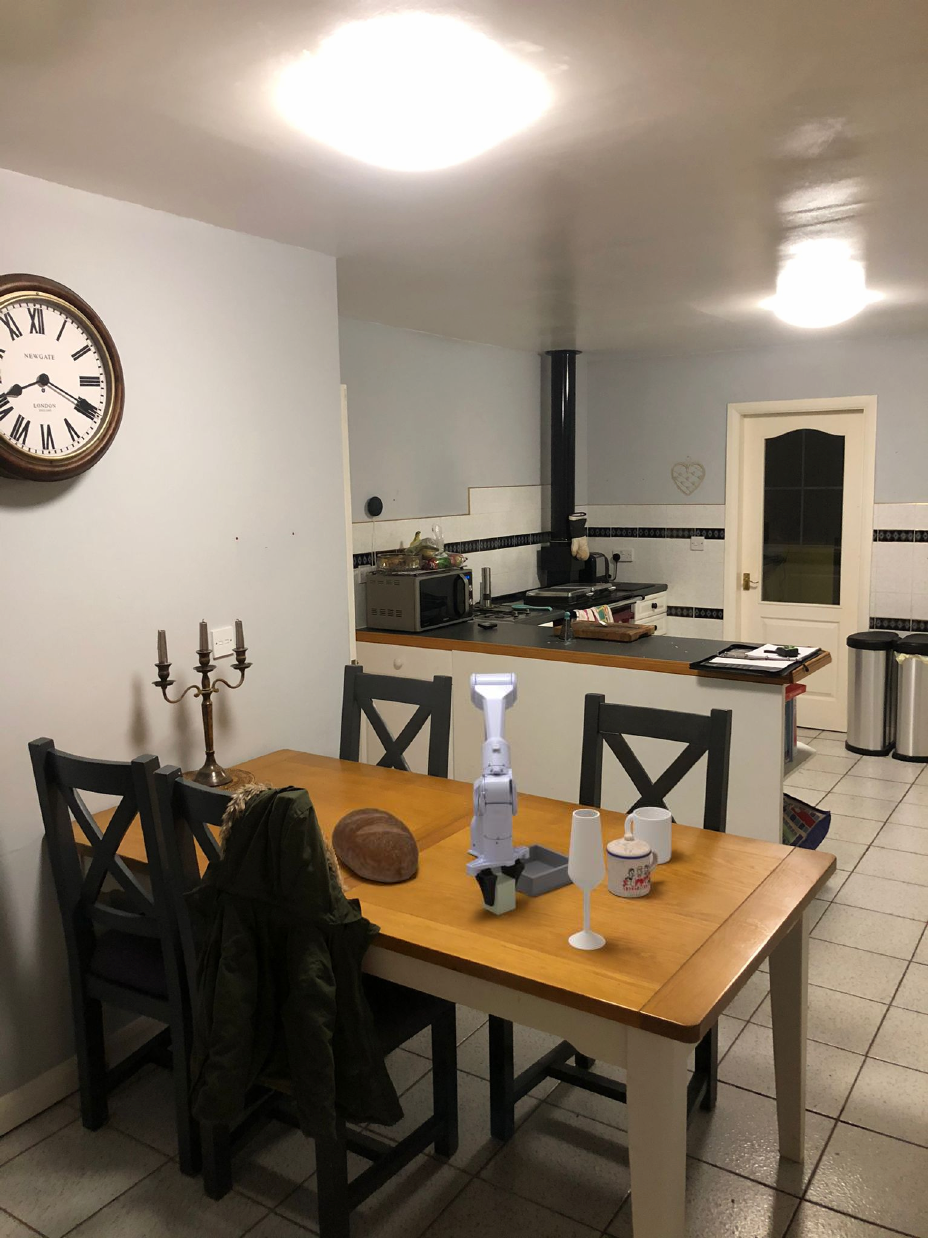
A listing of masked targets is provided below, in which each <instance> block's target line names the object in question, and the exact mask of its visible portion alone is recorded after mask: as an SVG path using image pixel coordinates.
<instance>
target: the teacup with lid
mask: <svg viewBox="0 0 928 1238" xmlns="http://www.w3.org/2000/svg"><path fill="white" fill-rule="evenodd" d="M605 851H606V852H607V855H606V856H607V862H606V863H607V866H606V868H607V870H606V871H607V874H606V875H607V881H606V882H607V885H606V886H607V889H608V891H609V892H610V893H612V894H613V895H616V896H618V897H621V898H632V899H633V898H639V897H644V896H646V895H647V894H649V892H650V891H651V874H652V873H653V872H654V871H655V870H656V868H657V865H658V864H657V863H658V854H657V852H656V851H654V850H652V849H651V847H650V846H649V845H648V844H647V843H646V842H643V841H640V840H638V839H636V838H634V836H633V833H632V834H630V833H627V834H626V833H625V834H624V835H623V837H622V838H619V839H615V840H612V841H610V842H609V843H608V844H607V845H606V848H605ZM650 854H653V861H652V864H650Z"/></svg>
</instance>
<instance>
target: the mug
mask: <svg viewBox="0 0 928 1238" xmlns="http://www.w3.org/2000/svg"><path fill="white" fill-rule="evenodd" d="M631 826H632V830H631ZM624 832H625V834H627V833H630V834H633V836H634V838H636V839H638V840H640V841H643V842H646V843H647V844H648V845H649V846H650V847H651V849H652V850H654V851H656V852H657V854H658V863H657V865H661V864H665V863H667V862H669V861H670V859H671V858H672V813H671V811H669V810H668V809H666V808H661V807H656V806H654V807H652V806H648V807H647V806H646V807H645V806H644V807H639V808H637V809H634V810H633V812H632V813H630V814H628V816H627V817H626V819H625V821H624ZM652 861H653V854H650V865H651V864H652Z"/></svg>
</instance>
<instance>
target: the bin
mask: <svg viewBox="0 0 928 1238" xmlns="http://www.w3.org/2000/svg"><path fill="white" fill-rule="evenodd" d="M526 847H527V848H529V858H526V859H525V858H521V859H520V862H523V863H524V864H525V869H524V870H523V872H522V873H521V875H520V877H519V880H518V883H517V886H516V890H517V892H521V893H523V894H524V895H527V896H528V897H531V898H536V897H538V896H541V895H543V894H545V893H549V892H551V891H553V890H556V889H559V888H561V887H564V886H567V885H569V884H572V883H573V882H572V880H571V879H570V877H569V875H568V863H569V855H566V854H564V853H562V852H559V851H557V850H554V849H552V848H549V847H546V846H544V845H542V844H539V843H537V842H536V843H533V844H531V845H527V846H526ZM491 871H493V874H497V873H502V871H501V867H500V866H498V867H495V868H492V869H491ZM573 884H574V883H573ZM516 890H515V891H516Z"/></svg>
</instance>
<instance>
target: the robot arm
mask: <svg viewBox="0 0 928 1238" xmlns="http://www.w3.org/2000/svg"><path fill="white" fill-rule="evenodd" d="M469 677H470V701H471V703H472V705H474V707H475V708H477V709H478V710H481V711H483V717H484V719H483V721H484V722H483V723H484V743H483V744H482V745H481V751H480V752H481V776H480V777H479V778H477V779H475V781H474V783H473V792H472V793H473V794H472V799H473V800H472V801H473V803H472V804H473V815H474V816H473V818H472V819H471V822H470V826H469V827H470V828H469V829H470V849H468V850H467V853H468V854H471V855H473V856H474V857H477V858H476V859H474V860H473V861H471V862H469V863H466V866H465V867H466V868H465V869H466V870H465V871H466V873H465V874H466V875H468V876H470V877H472V878H473V877H474V878H475V880H476V882H477V884H478V885H479V888H480V891H481V894H482V899H483V898H484V902H485V904H486V905H488V906H490V907H492V906H494V901H495V886H496V881H497V878H498V876H497V875H495V874H493V871H491V869H492V868H495V867H498V866H500V867H501V871H502V874H505V875H507V876H509V877H511V878H513V879H515V891H516V886H517V883H518V880H519V877H520V875H521V873H522V872H523V870H524V869H525V864H524V863H523V862H520V859H521V858H525V859H526V858H529V848H527V846H524V845H521V846H517V847H516V846H515V847H513V846H514V844H513V841H514V839H513V837H514V836H513V832H514V831H513V817H516V815H517V814H518V810H519V809H518V808H519V807H518V788H517V783H516V782H515V778H514V775H513V769H512V764H511V763H512V761H511V760H512V759H511V746H510V744H509V743H508V742H507V741H506V740H505V739H504V738H505V721H506V711H507V710H509V709H511V708H512V707H514V704H515V703H516V702H517V700H518V682H517V681H518V678H517V674H515V672H510V673H507V672H506V673H474V672H473V673H472V674H471V675H470V676H469Z"/></svg>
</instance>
